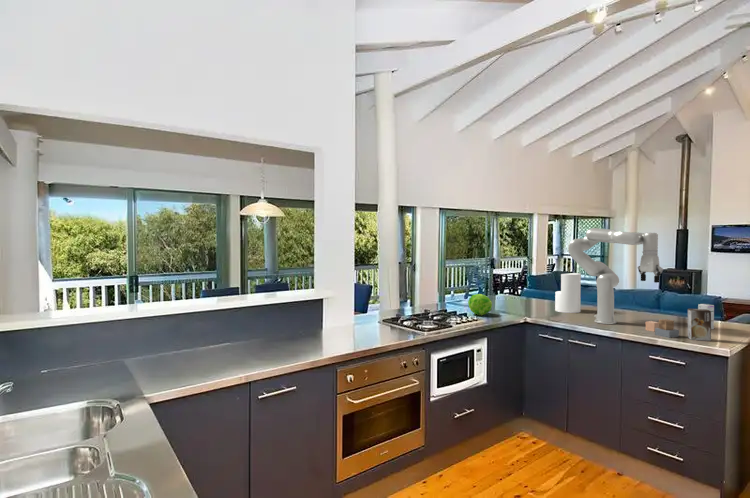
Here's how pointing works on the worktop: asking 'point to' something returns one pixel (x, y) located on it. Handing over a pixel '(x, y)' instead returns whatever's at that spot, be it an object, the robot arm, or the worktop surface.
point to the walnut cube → (666, 324)
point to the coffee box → (699, 324)
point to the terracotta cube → (652, 325)
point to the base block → (667, 333)
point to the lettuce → (479, 304)
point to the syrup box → (711, 308)
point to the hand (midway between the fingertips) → (649, 281)
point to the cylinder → (569, 294)
